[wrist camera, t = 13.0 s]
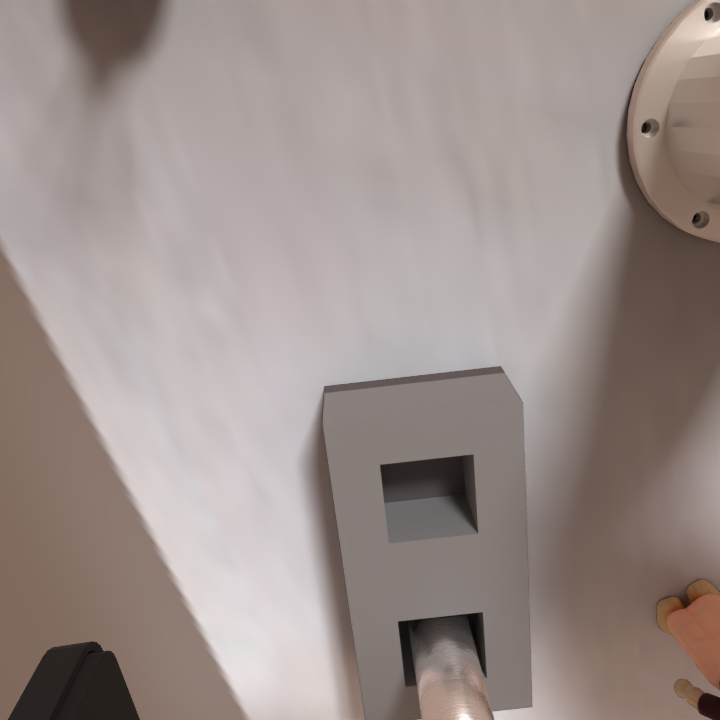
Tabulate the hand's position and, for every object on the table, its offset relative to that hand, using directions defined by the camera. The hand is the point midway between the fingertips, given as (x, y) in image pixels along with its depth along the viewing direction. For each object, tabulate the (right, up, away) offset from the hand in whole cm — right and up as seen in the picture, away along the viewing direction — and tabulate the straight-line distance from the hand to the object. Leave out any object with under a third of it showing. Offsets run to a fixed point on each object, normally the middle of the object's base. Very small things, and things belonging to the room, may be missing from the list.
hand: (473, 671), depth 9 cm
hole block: (+3, -6, +33) cm, 34 cm away
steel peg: (+3, -11, +34) cm, 36 cm away
